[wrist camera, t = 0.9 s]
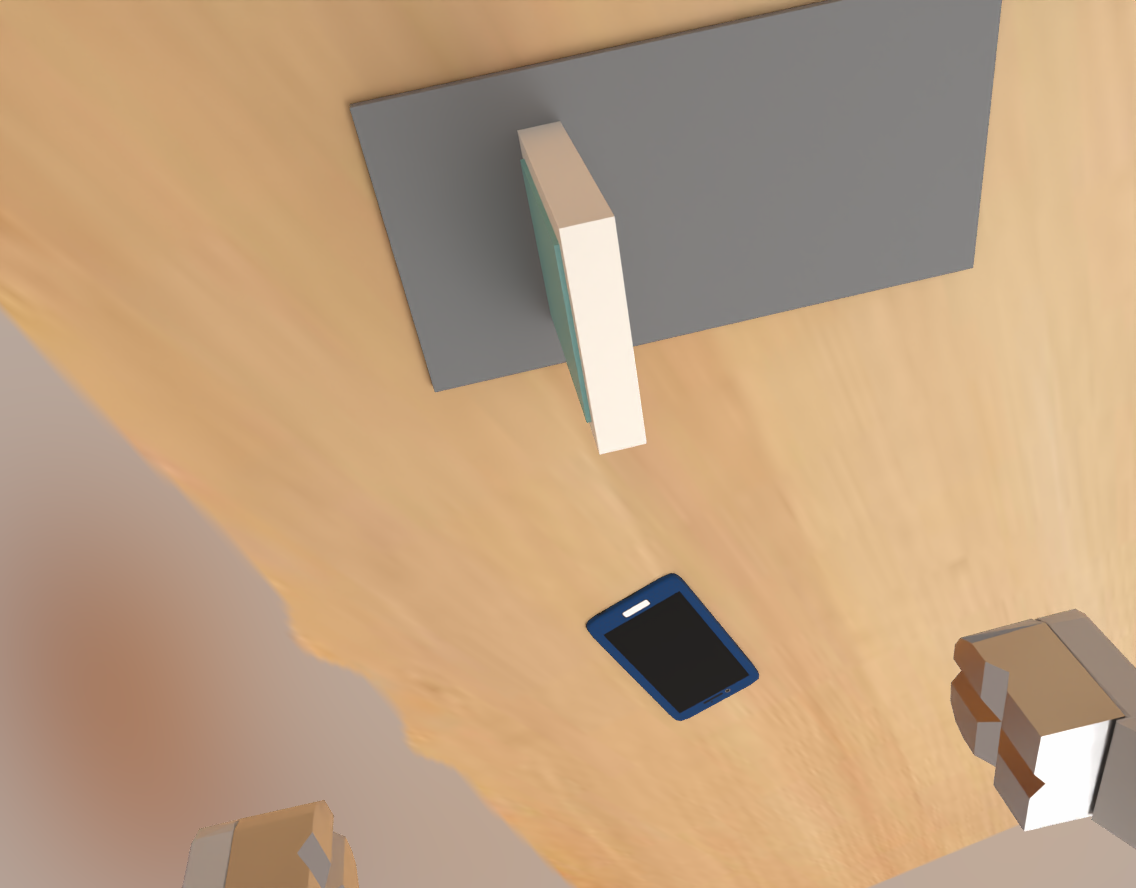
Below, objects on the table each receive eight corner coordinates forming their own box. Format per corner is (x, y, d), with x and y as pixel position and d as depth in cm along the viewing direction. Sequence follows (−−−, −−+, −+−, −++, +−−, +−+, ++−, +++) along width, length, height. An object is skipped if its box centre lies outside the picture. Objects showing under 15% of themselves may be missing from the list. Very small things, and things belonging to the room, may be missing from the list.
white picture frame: (513, 131, 42) (553, 230, 32) (560, 120, 42) (614, 216, 32) (551, 323, 47) (595, 455, 38) (592, 313, 47) (646, 443, 38)
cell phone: (673, 565, 60) (676, 573, 60) (760, 671, 68) (763, 679, 67) (580, 619, 62) (582, 627, 61) (676, 717, 69) (679, 725, 69)
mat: (350, 104, 40) (349, 107, 40) (998, -38, 41) (1005, -36, 41) (434, 386, 49) (434, 392, 49) (967, 263, 50) (973, 267, 50)
